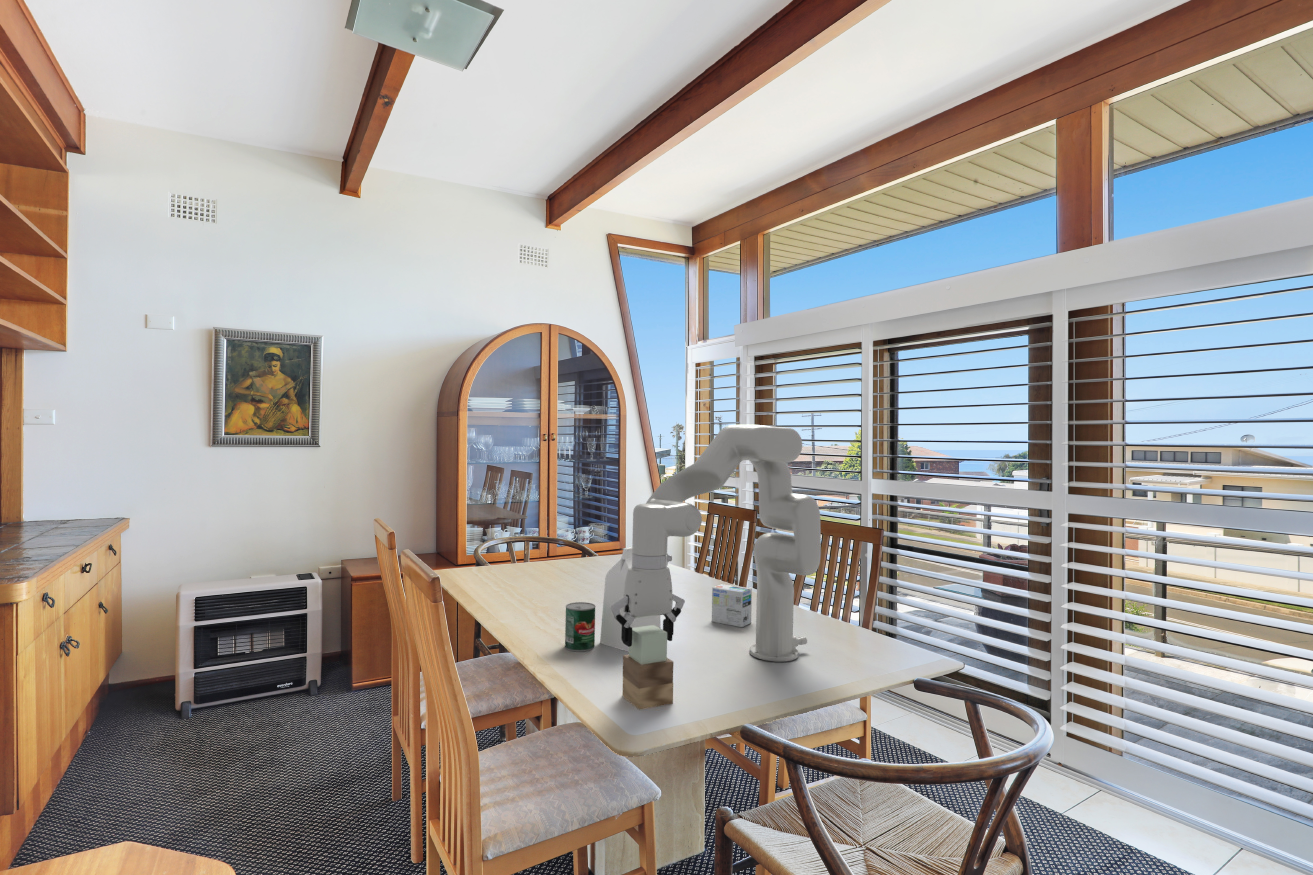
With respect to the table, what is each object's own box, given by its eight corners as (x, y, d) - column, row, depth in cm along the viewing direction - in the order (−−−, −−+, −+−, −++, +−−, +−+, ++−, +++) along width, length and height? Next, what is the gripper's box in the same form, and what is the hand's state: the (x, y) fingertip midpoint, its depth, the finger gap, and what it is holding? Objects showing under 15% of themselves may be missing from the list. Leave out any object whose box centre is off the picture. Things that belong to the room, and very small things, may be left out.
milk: (629, 633, 191) (631, 542, 191) (660, 642, 184) (663, 547, 184) (599, 643, 182) (602, 547, 182) (631, 652, 175) (634, 552, 175)
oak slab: (655, 690, 149) (655, 670, 149) (672, 703, 142) (673, 682, 142) (622, 696, 145) (622, 675, 145) (639, 710, 138) (639, 688, 138)
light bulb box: (752, 622, 206) (752, 587, 206) (742, 627, 200) (743, 591, 200) (720, 617, 211) (721, 582, 211) (710, 621, 206) (711, 586, 206)
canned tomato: (573, 640, 183) (574, 600, 183) (599, 644, 181) (600, 603, 181) (559, 649, 176) (560, 607, 176) (586, 653, 173) (587, 610, 173)
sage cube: (653, 652, 148) (654, 624, 148) (666, 660, 142) (667, 632, 142) (628, 655, 145) (629, 628, 145) (641, 664, 140) (642, 635, 140)
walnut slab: (655, 670, 149) (655, 650, 149) (672, 682, 142) (673, 661, 142) (622, 675, 145) (623, 655, 145) (638, 688, 138) (639, 666, 138)
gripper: (676, 556, 151) (674, 632, 151) (605, 561, 143) (603, 641, 143) (693, 562, 144) (691, 641, 144) (620, 567, 136) (618, 652, 136)
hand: (647, 641), depth 144 cm, fingers open, 9 cm apart
